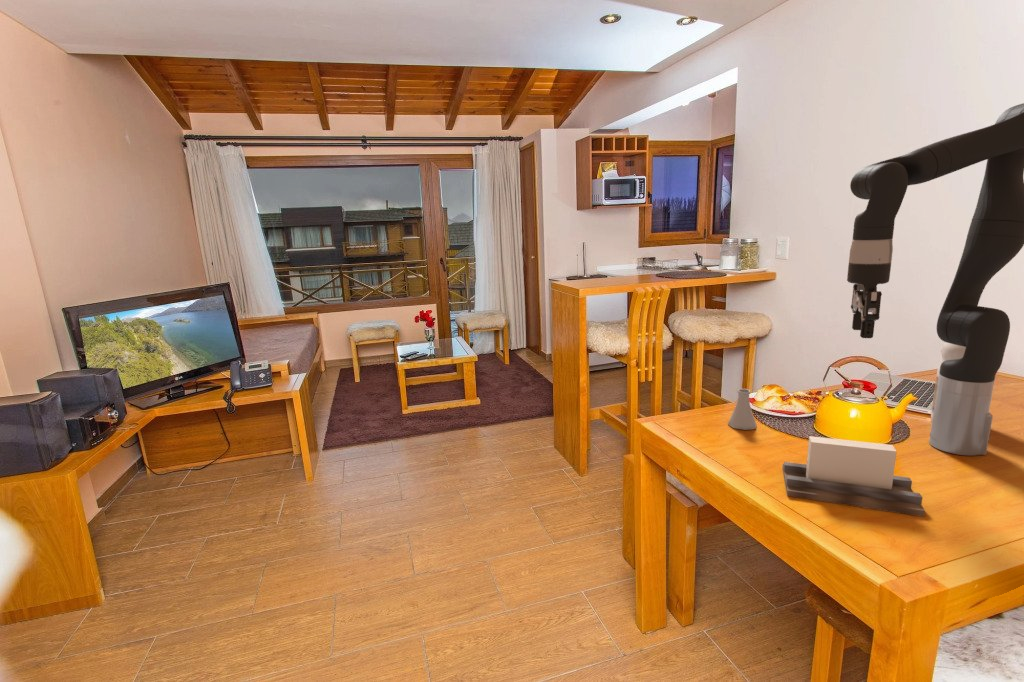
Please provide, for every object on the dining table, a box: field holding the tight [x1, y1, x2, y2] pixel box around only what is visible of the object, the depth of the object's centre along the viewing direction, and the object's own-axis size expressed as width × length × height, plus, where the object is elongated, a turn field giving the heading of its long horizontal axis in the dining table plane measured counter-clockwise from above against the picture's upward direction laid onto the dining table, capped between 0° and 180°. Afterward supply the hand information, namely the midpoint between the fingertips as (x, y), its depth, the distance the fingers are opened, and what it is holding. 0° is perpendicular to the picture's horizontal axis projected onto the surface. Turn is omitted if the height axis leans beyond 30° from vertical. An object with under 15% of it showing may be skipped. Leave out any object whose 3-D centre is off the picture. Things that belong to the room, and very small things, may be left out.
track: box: [782, 461, 926, 518], centre depth 99 cm, size 22×12×3 cm, turn 66°
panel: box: [806, 435, 898, 489], centre depth 99 cm, size 14×3×9 cm, turn 66°
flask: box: [727, 388, 757, 431], centre depth 132 cm, size 7×7×10 cm
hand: (861, 333), depth 110 cm, fingers open, 8 cm apart
